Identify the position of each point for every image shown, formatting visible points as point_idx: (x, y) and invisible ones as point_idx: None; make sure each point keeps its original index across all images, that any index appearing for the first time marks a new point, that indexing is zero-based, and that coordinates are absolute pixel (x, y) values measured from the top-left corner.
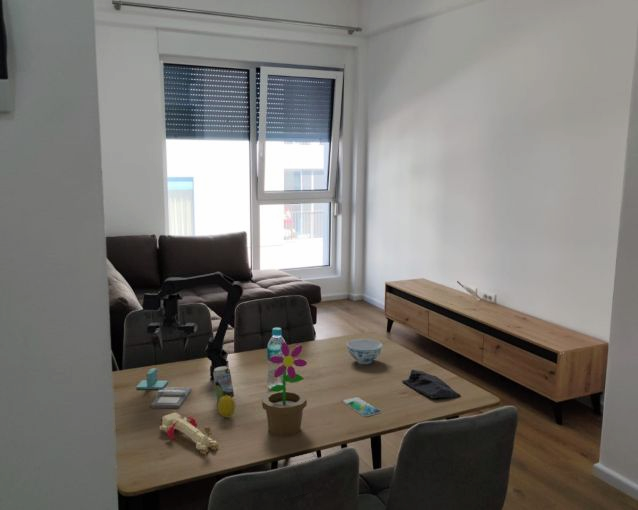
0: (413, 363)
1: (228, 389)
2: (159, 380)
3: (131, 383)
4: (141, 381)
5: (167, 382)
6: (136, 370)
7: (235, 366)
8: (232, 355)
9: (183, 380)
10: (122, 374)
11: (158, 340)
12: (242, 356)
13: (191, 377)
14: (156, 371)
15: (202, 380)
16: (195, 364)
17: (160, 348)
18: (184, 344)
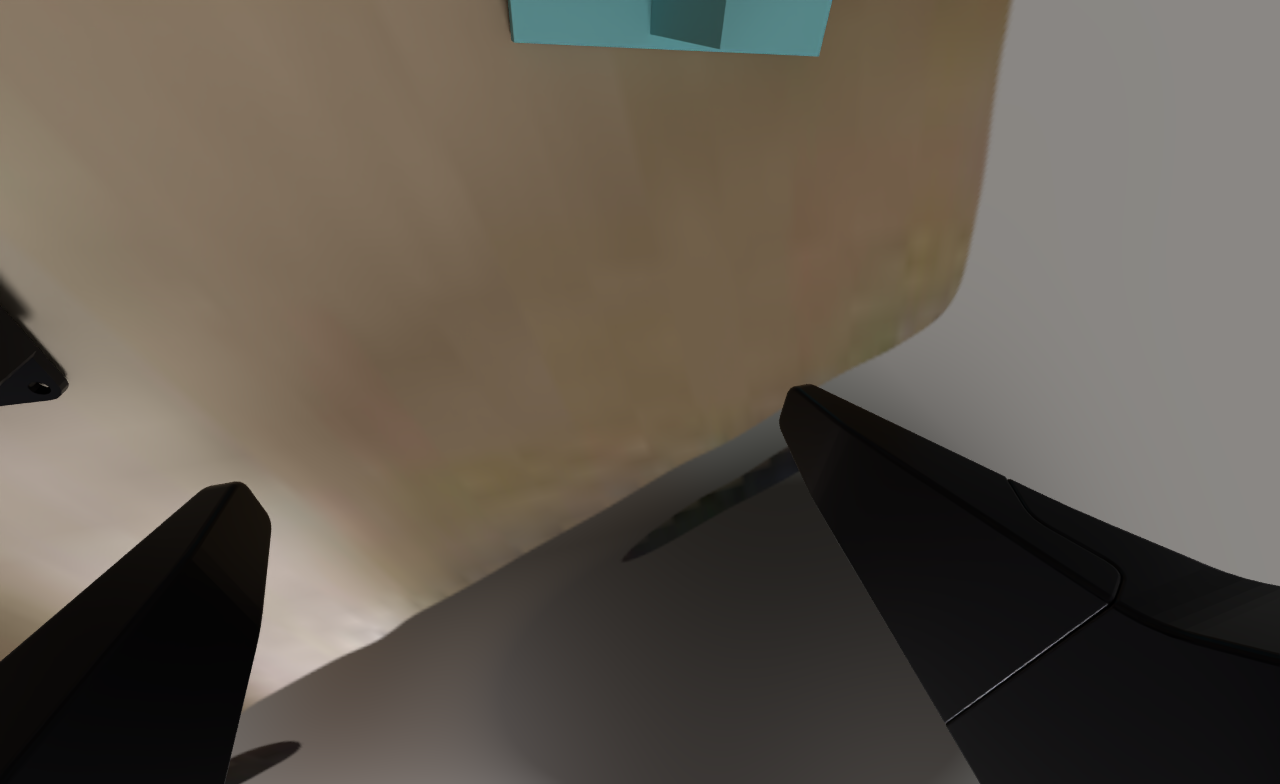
0: None
1: None
2: (626, 46)
3: (906, 16)
4: (827, 2)
5: (509, 15)
6: (848, 339)
7: (20, 577)
8: (268, 677)
9: (342, 145)
10: (943, 253)
11: (1019, 516)
12: None
13: (300, 255)
14: (704, 18)
15: (36, 162)
16: (454, 514)
17: (814, 391)
18: (75, 629)
